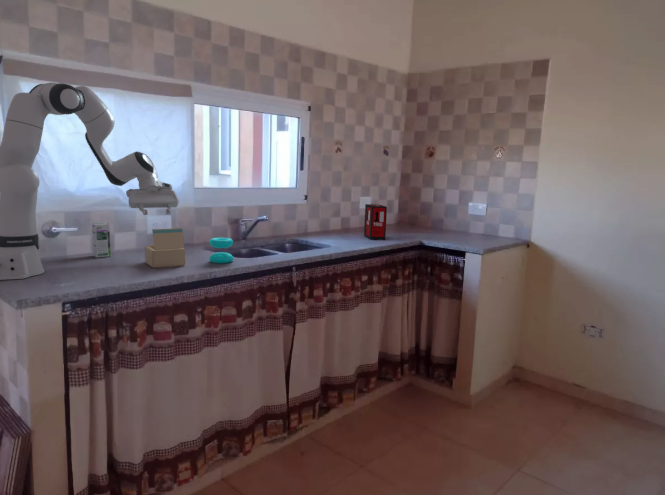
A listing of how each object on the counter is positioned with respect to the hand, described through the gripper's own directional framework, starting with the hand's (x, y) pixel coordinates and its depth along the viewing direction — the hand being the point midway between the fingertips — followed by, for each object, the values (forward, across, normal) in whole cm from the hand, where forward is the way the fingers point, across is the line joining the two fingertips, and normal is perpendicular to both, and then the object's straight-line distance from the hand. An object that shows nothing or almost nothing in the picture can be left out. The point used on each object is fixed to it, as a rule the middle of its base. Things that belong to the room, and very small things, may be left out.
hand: (157, 213), depth 200 cm
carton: (+21, 0, +7) cm, 22 cm away
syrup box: (+2, -19, +26) cm, 33 cm away
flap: (+21, 0, -4) cm, 21 cm away
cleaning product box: (+3, +133, +25) cm, 135 cm away
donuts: (+25, +22, +4) cm, 34 cm away
